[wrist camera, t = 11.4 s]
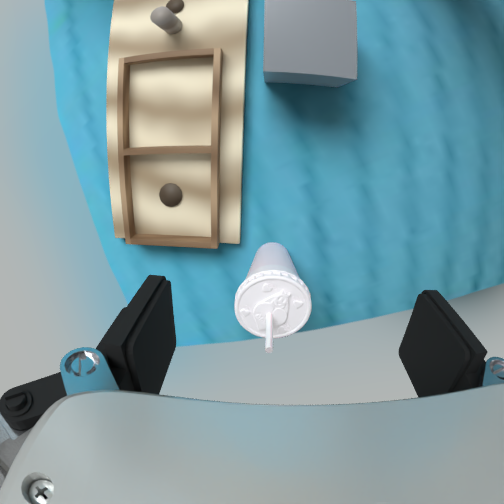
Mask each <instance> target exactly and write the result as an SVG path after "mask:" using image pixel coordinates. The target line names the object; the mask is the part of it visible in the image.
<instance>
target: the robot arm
mask: <svg viewBox="0 0 504 504" xmlns="http://www.w3.org/2000/svg"><path fill="white" fill-rule="evenodd" d="M175 347H176V334H175V325H174V315H173V304H172V292H171V282H170V281H168V280H166V278H165V276H156V275H149V276H148V277H147V279H146V280H145V281H144V283H143V284H142V286H141V287H140V289H139V290H138V291H137V293H136V294H135V296H134V297H133V299H132V300H131V302H130V303H129V304H128V306H127V307H125V308H123V309H122V310H121V312H120V313H119V315H118V316H117V318H116V319H115V321H114V322H113V324H112V325H111V326H110V328H109V329H108V331H107V332H106V334H105V335H104V337H103V338H102V340H101V342H100V343H99V345H98V346H97V348H96V349H94V348H88V347H83V348H77V349H75V350H72V351H70V352H69V353H67V354H66V355H65V356H64V357H63V358H62V360H61V363H60V370H61V372H59V373H56V374H53V375H51V376H47V377H45V378H41V379H38V380H36V381H32V382H30V383H26V384H23V385H20V386H17V387H14V388H12V389H10V390H8V391H7V392H6V393H4V395H3V396H2V397H1V399H0V504H504V359H502V358H499V357H492V358H489V359H488V360H487V361H486V362H485V360H484V357H485V356H486V354H487V350H486V349H485V348H484V346H483V345H482V344H481V342H480V341H479V340H478V339H477V337H476V336H475V335H474V334H473V332H472V331H471V330H470V329H469V327H468V326H467V325H466V324H465V322H464V321H463V320H462V319H461V318H460V316H459V315H458V314H457V313H456V312H455V310H454V309H453V308H452V307H451V306H450V304H448V302H447V301H446V300H445V299H444V297H443V296H442V295H441V294H440V293H439V292H438V291H437V290H424V291H423V292H422V293H421V294H419V295H418V297H417V300H416V303H415V306H414V309H413V312H412V315H411V318H410V321H409V323H408V326H407V329H406V332H405V334H404V337H403V340H402V343H401V345H400V348H399V356H400V359H401V361H402V363H403V365H404V367H405V369H406V371H407V373H408V375H409V378H410V380H411V382H412V384H413V386H414V389H415V391H416V393H417V395H418V397H419V398H411V399H403V400H394V401H383V402H372V403H358V404H357V403H356V404H338V405H337V404H336V405H268V404H247V403H246V404H245V403H231V402H220V401H209V400H199V399H191V398H184V397H175V396H166V395H159V392H160V390H161V387H162V384H163V381H164V378H165V376H166V373H167V370H168V367H169V365H170V361H171V359H172V356H173V353H174V351H175Z"/></svg>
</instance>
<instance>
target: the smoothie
mask: <svg viewBox="0 0 504 504" xmlns="http://www.w3.org/2000/svg"><path fill="white" fill-rule="evenodd" d="M310 313H311V295H310V292H309V290H308V287H307V286H306V285H305V284H304V282H303V281H302V280H301V279H300V278H299V276H298V273H297V271H296V269H295V267H294V264H293V262H292V260H291V257H290V255H289V253H288V251H287V249H286V248H285V247H284V246H283V245H281V244H278V243H266V244H264V245H262V246H261V247H260V248H259V249H258V250H257V252H256V255H255V257H254V260H253V262H252V265H251V267H250V270H249V272H248V275H247V277H246V280H245V281H244V282H243V283H242V284H241V285H240V286H239V288H238V290H237V293H236V295H235V314H236V317H237V319H238V321H239V323H240V324H241V325H242V326H243V327H244V328H245V329H246V330H247V331H249V332H250V333H252V334H254V335H256V336H259V337H263V338H266V342H265V351H266V352H267V353H271V352H272V351H273V338H282V337H286V336H289V335H291V334H293V333H295V332H297V331H298V330H299V329H301V328H302V327H303V326H304V325H305V323H306V322H307V320H308V319H309V316H310Z"/></svg>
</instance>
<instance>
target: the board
mask: <svg viewBox="0 0 504 504" xmlns="http://www.w3.org/2000/svg"><path fill="white" fill-rule="evenodd" d="M248 6H249V0H114V4H113V12H112V20H111V30H110V40H109V53H108V71H107V151H108V169H109V183H110V195H111V205H112V215H113V223H114V231H115V238H125V241H126V244H139V245H158V246H177V247H195V248H214V249H217V248H218V246H219V243H234V244H240V237H241V197H242V162H243V131H244V102H245V75H246V51H247V28H248Z"/></svg>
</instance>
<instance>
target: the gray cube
mask: <svg viewBox="0 0 504 504" xmlns="http://www.w3.org/2000/svg"><path fill="white" fill-rule="evenodd" d="M263 72H264V81H265V82H274V83H293V84H307V85H318V86H328V87H337V88H338V87H340V86H342V85H345V84H347V83H350V82H352V81H355V80H357V16H356V1H352V0H265V15H264V65H263Z"/></svg>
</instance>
